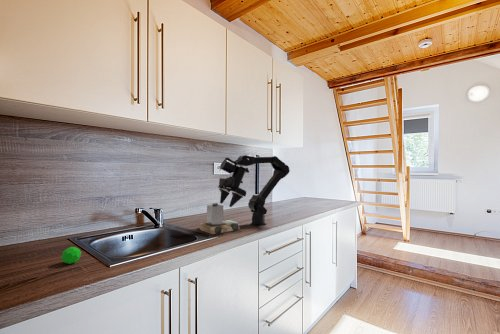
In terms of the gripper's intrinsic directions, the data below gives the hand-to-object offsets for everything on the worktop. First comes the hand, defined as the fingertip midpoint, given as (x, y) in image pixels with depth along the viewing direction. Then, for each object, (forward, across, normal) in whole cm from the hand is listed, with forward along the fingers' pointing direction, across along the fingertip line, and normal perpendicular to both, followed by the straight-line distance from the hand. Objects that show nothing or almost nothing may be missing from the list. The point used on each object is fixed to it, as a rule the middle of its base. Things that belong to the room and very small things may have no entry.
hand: (225, 205), depth 127 cm
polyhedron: (+36, +14, -54) cm, 67 cm away
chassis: (+12, +2, +1) cm, 13 cm away
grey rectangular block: (+12, +2, -2) cm, 13 cm away
